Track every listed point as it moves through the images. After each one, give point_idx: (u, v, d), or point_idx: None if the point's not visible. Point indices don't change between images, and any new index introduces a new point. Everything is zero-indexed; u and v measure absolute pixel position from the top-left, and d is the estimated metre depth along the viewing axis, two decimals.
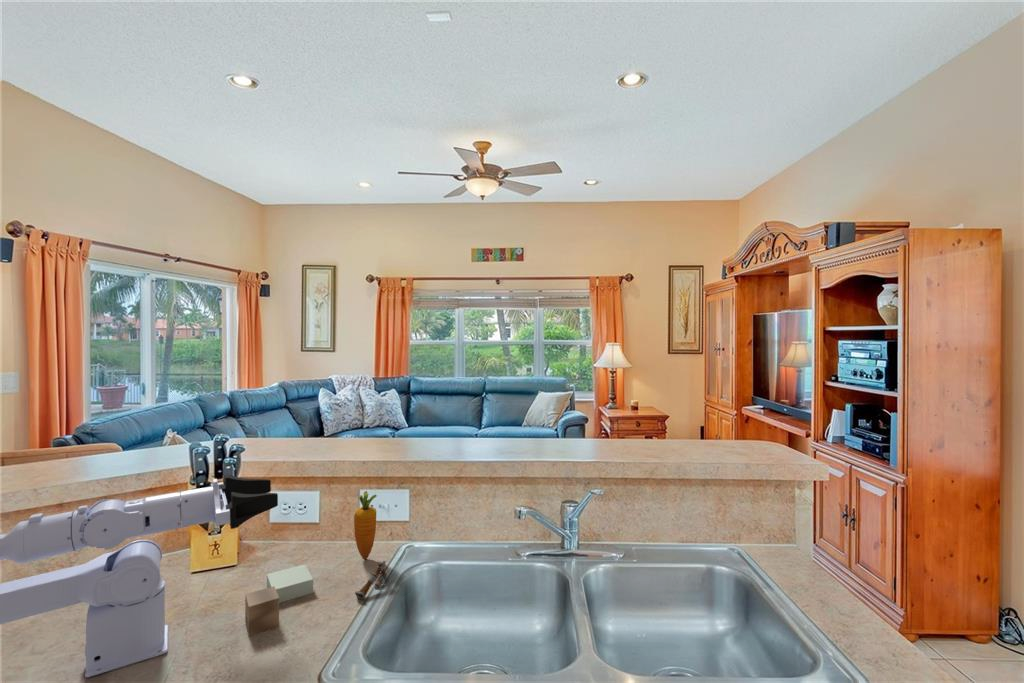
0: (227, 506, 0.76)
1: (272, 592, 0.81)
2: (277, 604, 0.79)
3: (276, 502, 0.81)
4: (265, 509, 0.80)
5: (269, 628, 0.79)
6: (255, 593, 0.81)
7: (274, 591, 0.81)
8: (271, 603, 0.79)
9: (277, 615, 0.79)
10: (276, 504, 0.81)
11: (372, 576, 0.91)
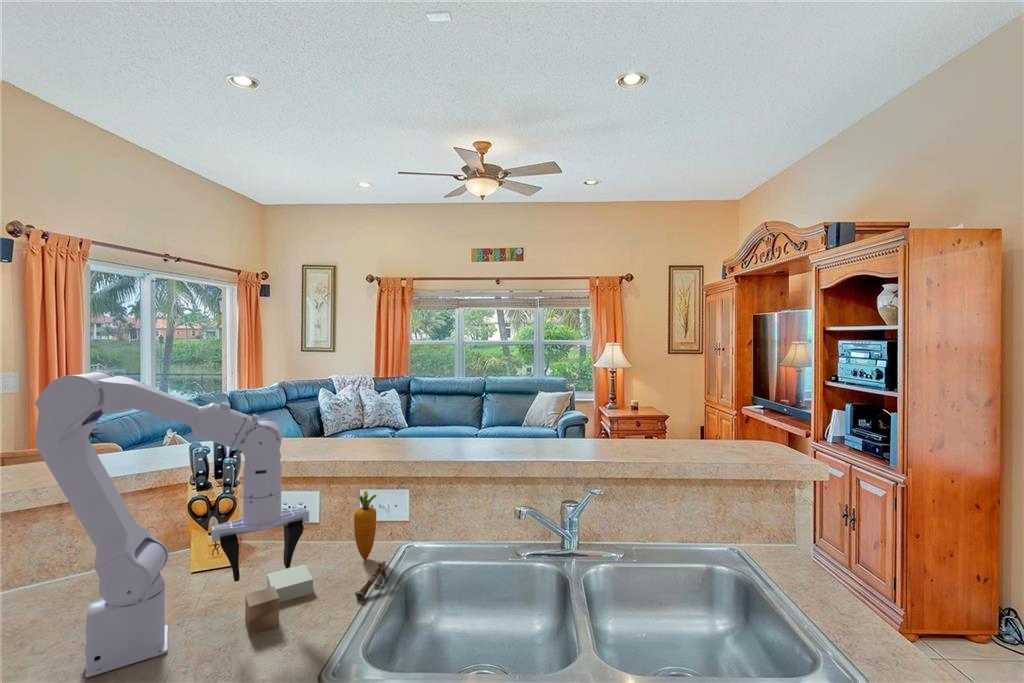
0: (229, 537, 0.76)
1: (272, 592, 0.81)
2: (277, 604, 0.79)
3: (233, 577, 0.78)
4: None
5: (269, 628, 0.79)
6: (255, 593, 0.81)
7: (274, 591, 0.81)
8: (271, 603, 0.79)
9: (277, 615, 0.79)
10: (233, 576, 0.78)
11: (372, 576, 0.91)
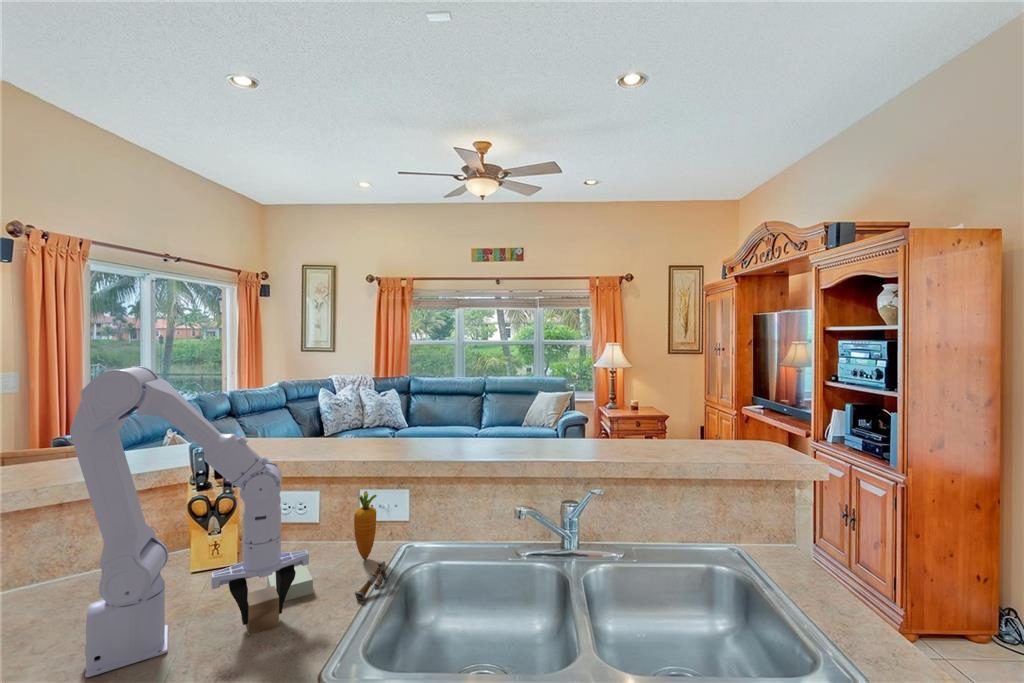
0: (238, 581, 0.77)
1: (272, 591, 0.81)
2: (277, 603, 0.79)
3: None
4: None
5: (269, 627, 0.79)
6: (255, 592, 0.81)
7: (274, 590, 0.81)
8: (271, 602, 0.79)
9: (277, 614, 0.79)
10: None
11: (372, 576, 0.91)
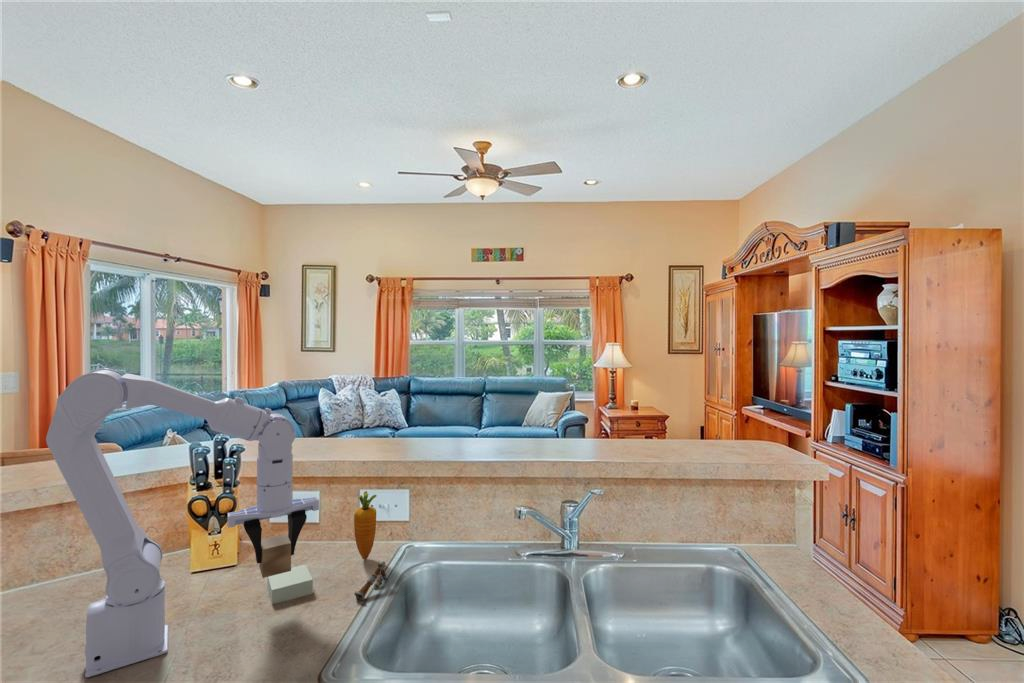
0: (252, 521, 0.81)
1: (284, 538, 0.85)
2: (289, 549, 0.83)
3: (256, 559, 0.83)
4: None
5: (282, 571, 0.83)
6: (269, 539, 0.85)
7: (286, 538, 0.85)
8: (283, 547, 0.83)
9: (289, 559, 0.83)
10: (256, 558, 0.83)
11: (371, 577, 0.91)
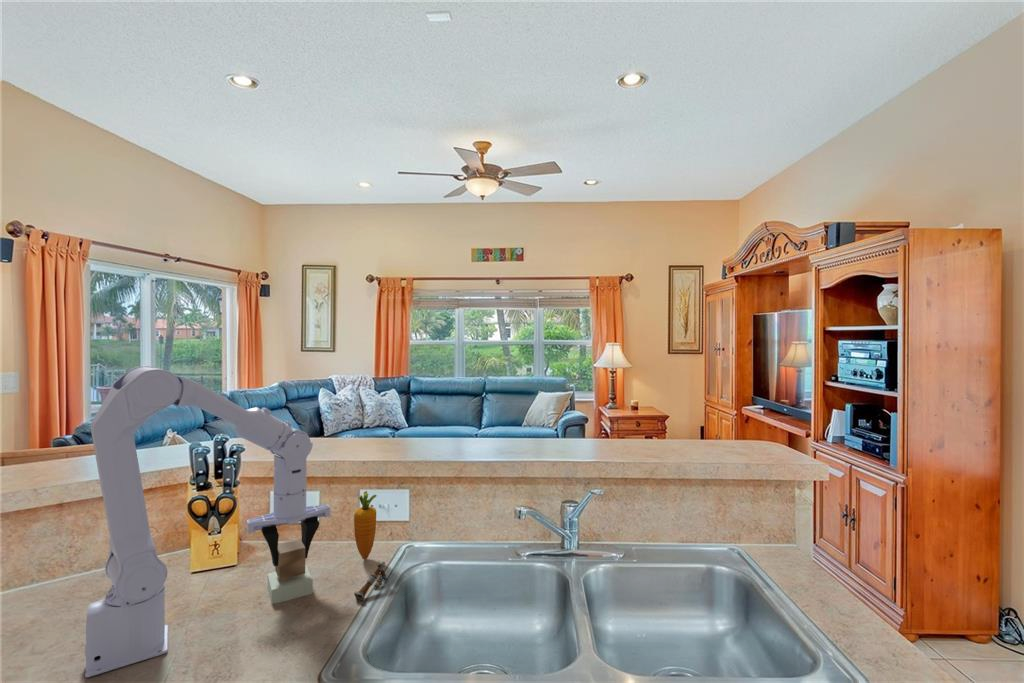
0: (269, 527, 0.88)
1: (298, 543, 0.92)
2: (304, 553, 0.90)
3: (272, 562, 0.89)
4: (271, 552, 0.90)
5: (297, 574, 0.89)
6: (284, 544, 0.91)
7: (300, 542, 0.92)
8: (298, 551, 0.89)
9: (304, 563, 0.90)
10: (272, 561, 0.90)
11: (371, 577, 0.91)
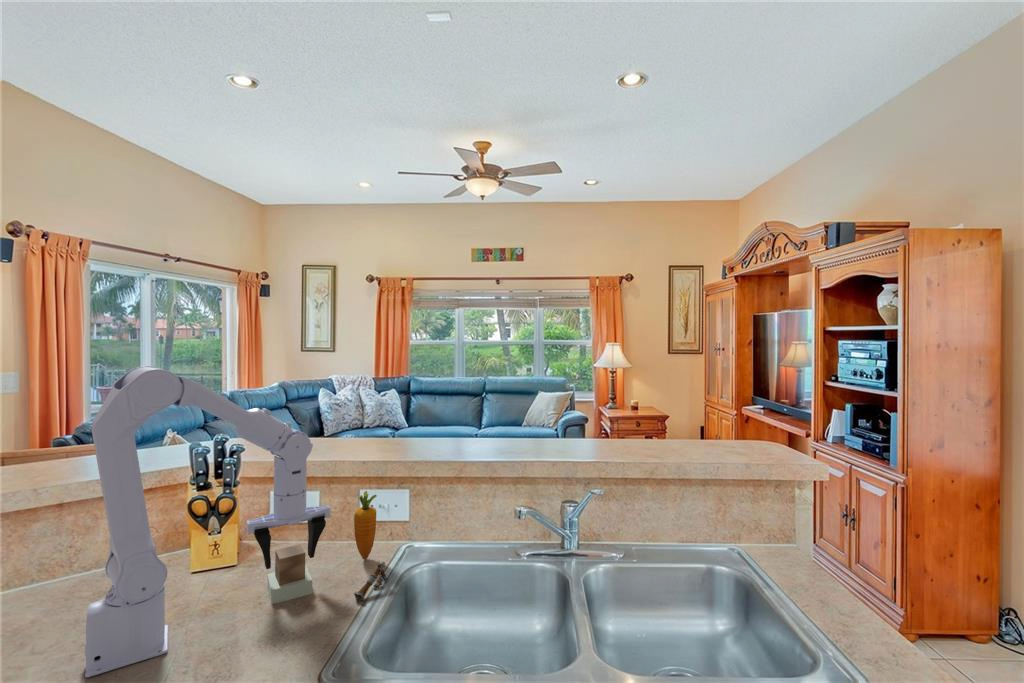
0: (262, 530, 0.87)
1: (298, 548, 0.92)
2: (304, 558, 0.90)
3: (265, 565, 0.88)
4: (263, 555, 0.89)
5: (297, 579, 0.89)
6: (284, 549, 0.91)
7: (300, 548, 0.92)
8: (298, 556, 0.89)
9: (304, 568, 0.90)
10: (265, 564, 0.89)
11: (371, 577, 0.91)
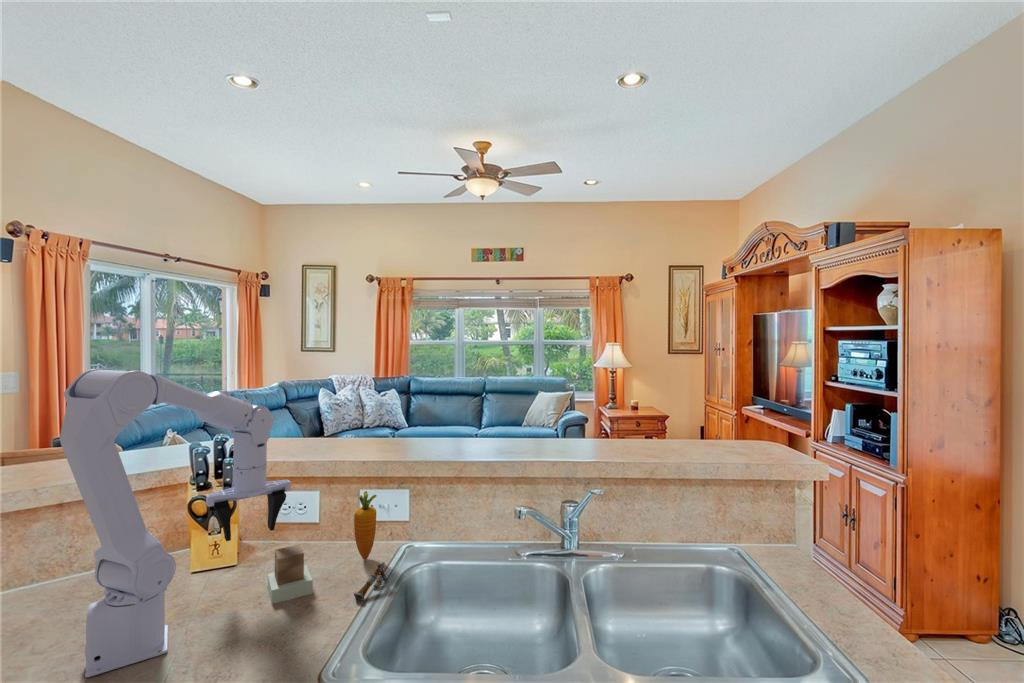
0: (222, 503, 0.89)
1: (297, 549, 0.92)
2: (302, 558, 0.90)
3: None
4: (223, 528, 0.91)
5: (295, 579, 0.89)
6: (283, 549, 0.91)
7: (299, 548, 0.92)
8: (296, 557, 0.89)
9: (302, 568, 0.90)
10: None
11: (371, 577, 0.90)
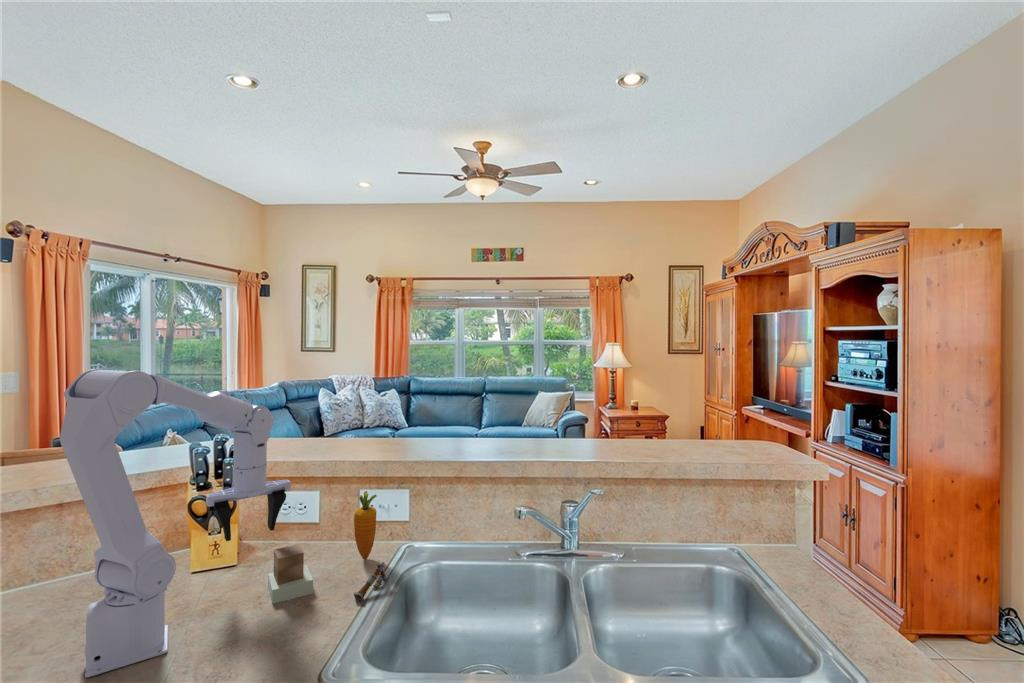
0: (222, 503, 0.89)
1: (297, 548, 0.92)
2: (302, 558, 0.90)
3: None
4: (223, 528, 0.91)
5: (295, 578, 0.89)
6: (282, 549, 0.92)
7: (299, 547, 0.92)
8: (296, 556, 0.90)
9: (302, 567, 0.90)
10: None
11: (371, 577, 0.90)
